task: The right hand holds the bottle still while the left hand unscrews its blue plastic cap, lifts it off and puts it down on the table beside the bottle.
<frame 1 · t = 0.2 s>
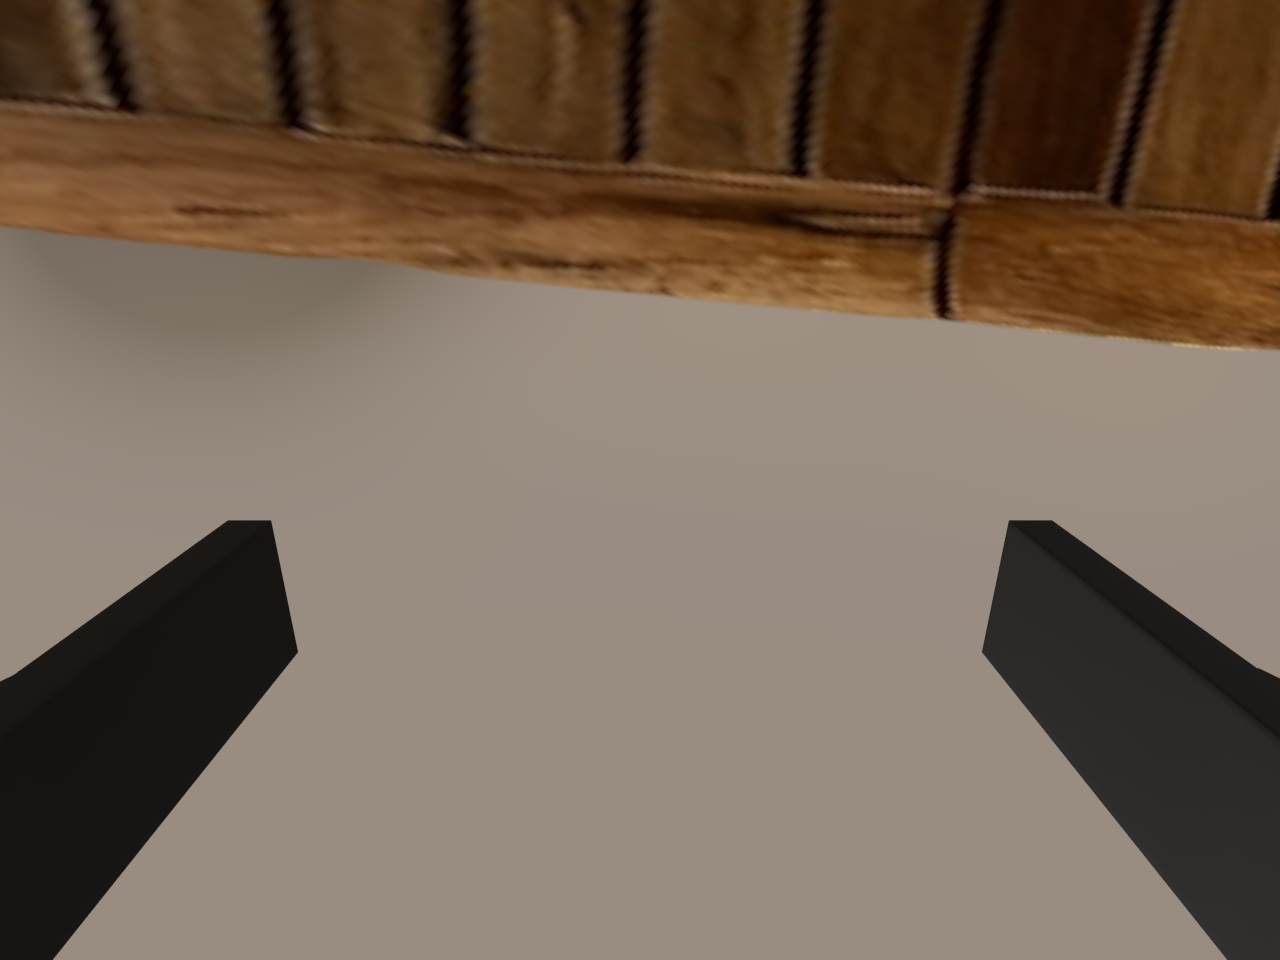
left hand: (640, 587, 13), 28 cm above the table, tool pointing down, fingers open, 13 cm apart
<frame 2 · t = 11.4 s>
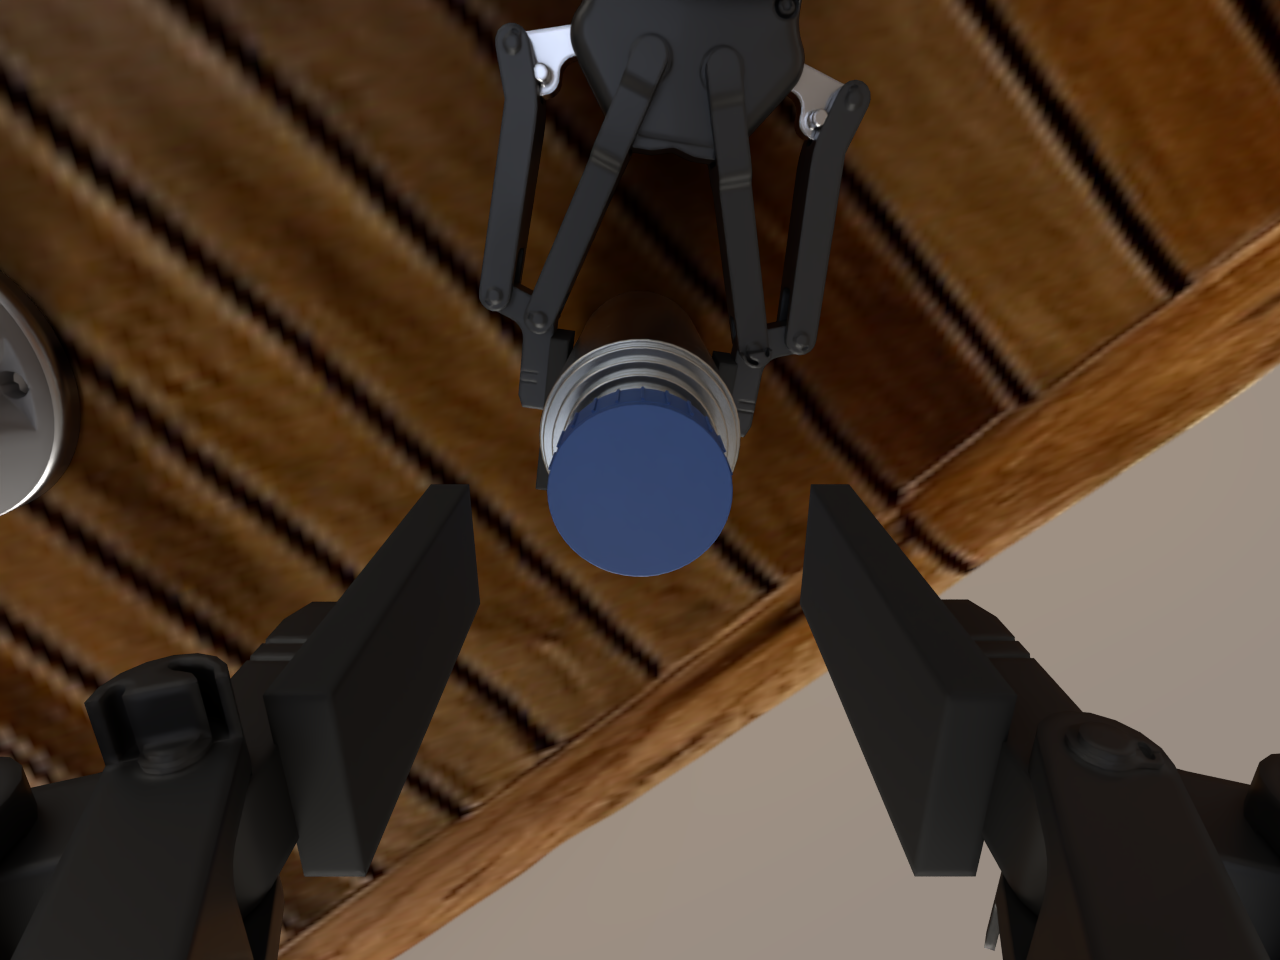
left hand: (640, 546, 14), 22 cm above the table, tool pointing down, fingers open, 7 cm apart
right hand: (624, 488, 31), fingers closed on bottle, 6 cm apart
cap: (640, 490, 17), point 19 cm above the table, screwed on, not yet turned
bottle: (640, 352, 35), on the table, touching right hand
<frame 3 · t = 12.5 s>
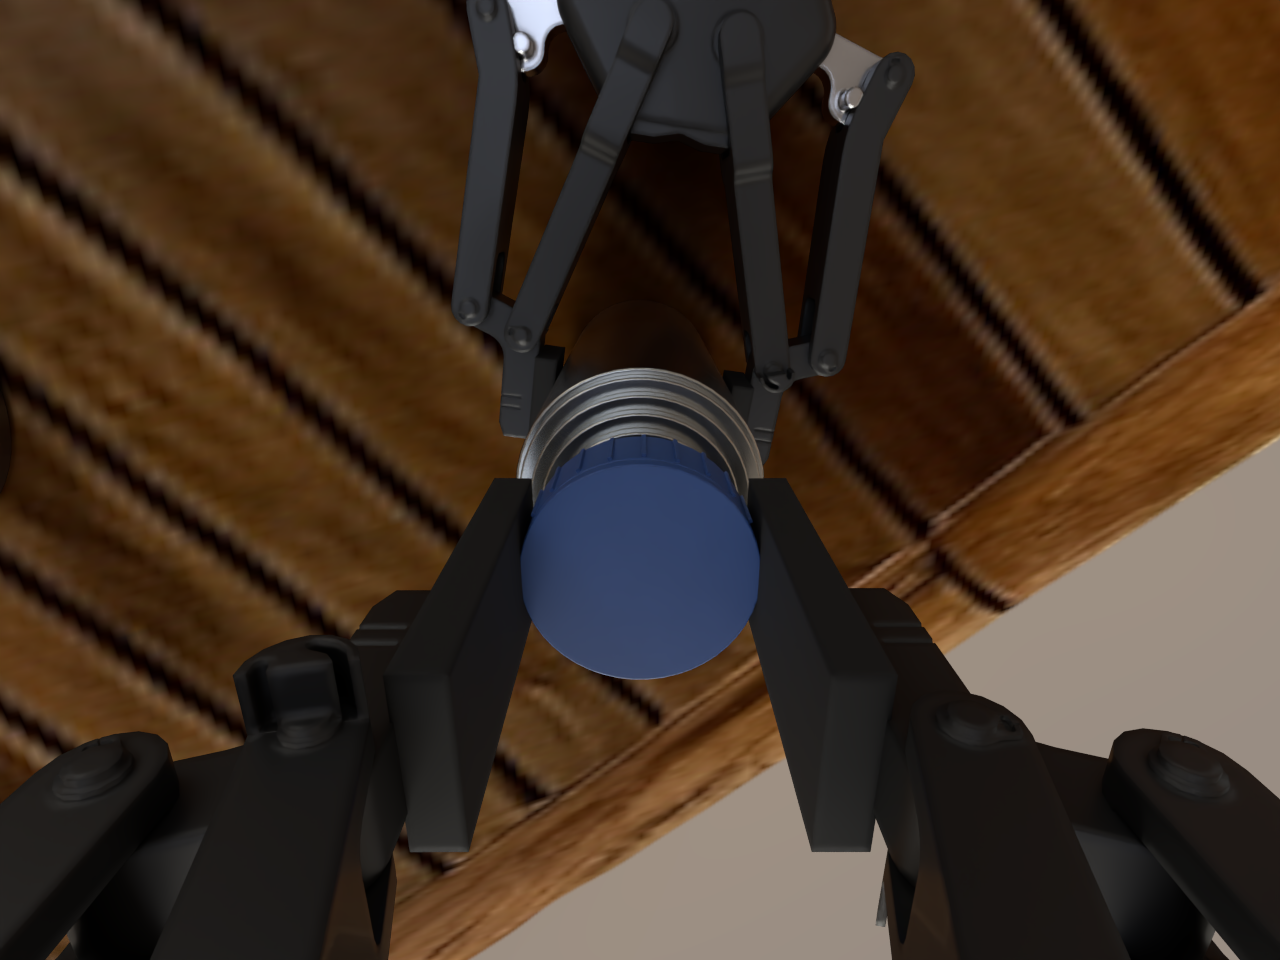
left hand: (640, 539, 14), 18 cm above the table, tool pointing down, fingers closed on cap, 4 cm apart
right hand: (621, 526, 27), fingers closed on bottle, 6 cm apart
cap: (640, 571, 13), point 19 cm above the table, screwed on, not yet turned, touching left hand
bottle: (639, 369, 31), on the table, touching right hand
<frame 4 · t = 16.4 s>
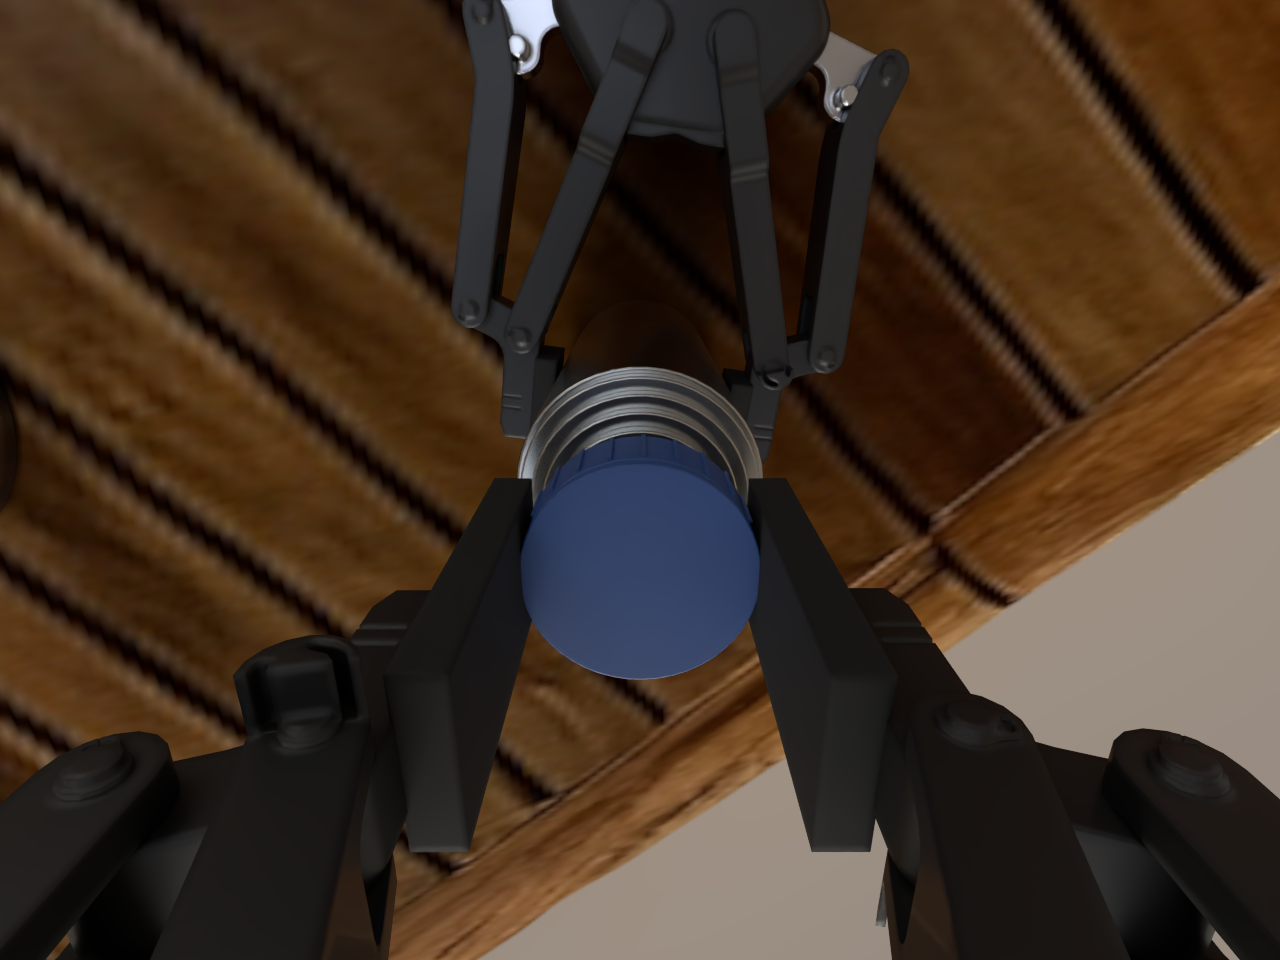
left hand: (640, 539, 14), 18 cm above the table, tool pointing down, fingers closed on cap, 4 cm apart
right hand: (623, 525, 27), fingers closed on bottle, 6 cm apart
cap: (640, 571, 13), point 19 cm above the table, turned 125° so far, risen 0.1 cm, still on its thread, touching left hand
bottle: (639, 368, 31), on the table, touching right hand
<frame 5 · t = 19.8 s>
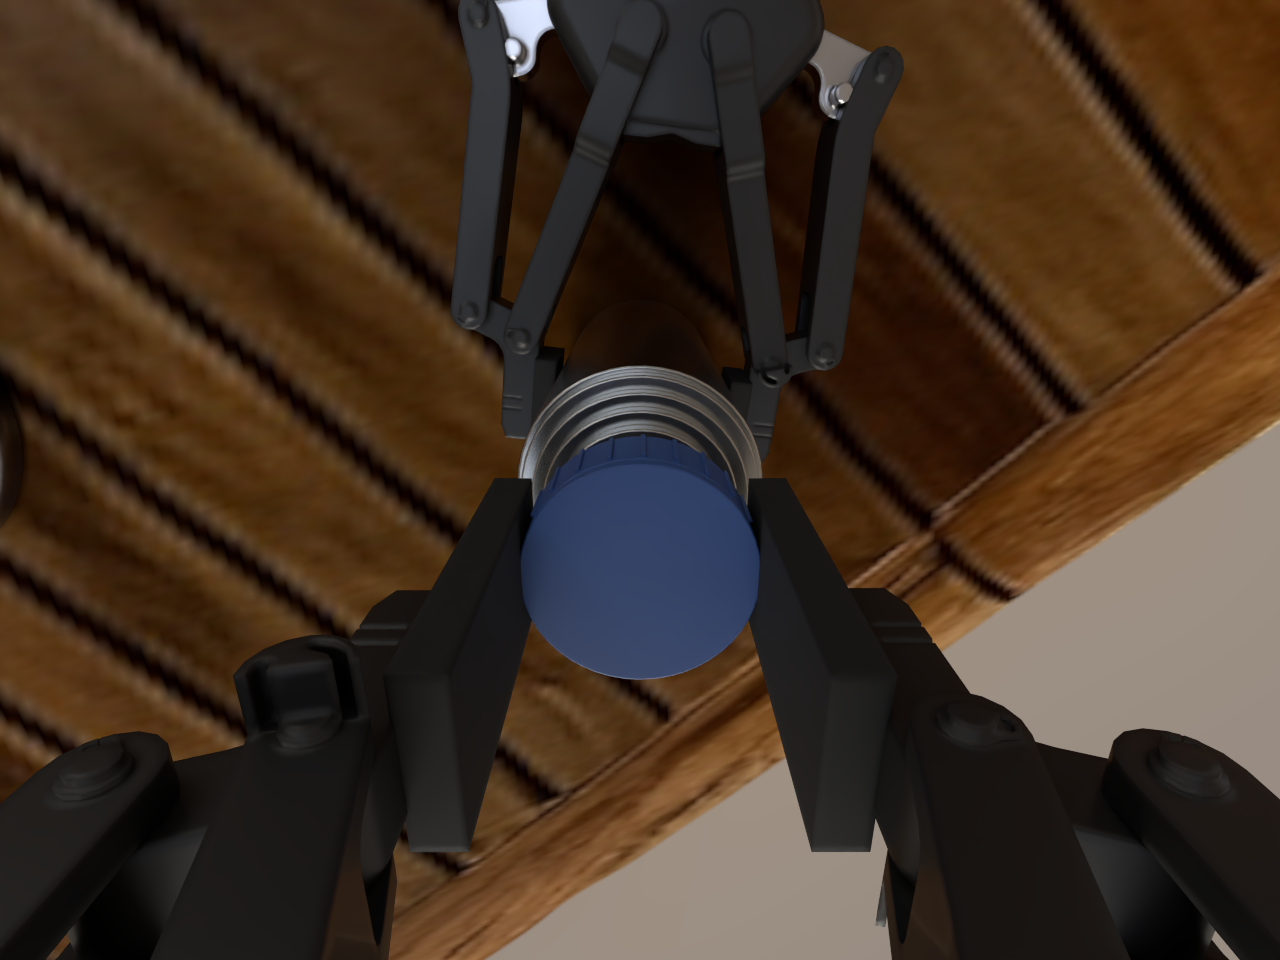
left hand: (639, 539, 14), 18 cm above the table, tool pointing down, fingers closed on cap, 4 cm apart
right hand: (625, 524, 27), fingers closed on bottle, 6 cm apart
cap: (640, 571, 13), point 20 cm above the table, turned 249° so far, risen 0.2 cm, still on its thread, touching left hand
bottle: (639, 368, 31), on the table, touching right hand
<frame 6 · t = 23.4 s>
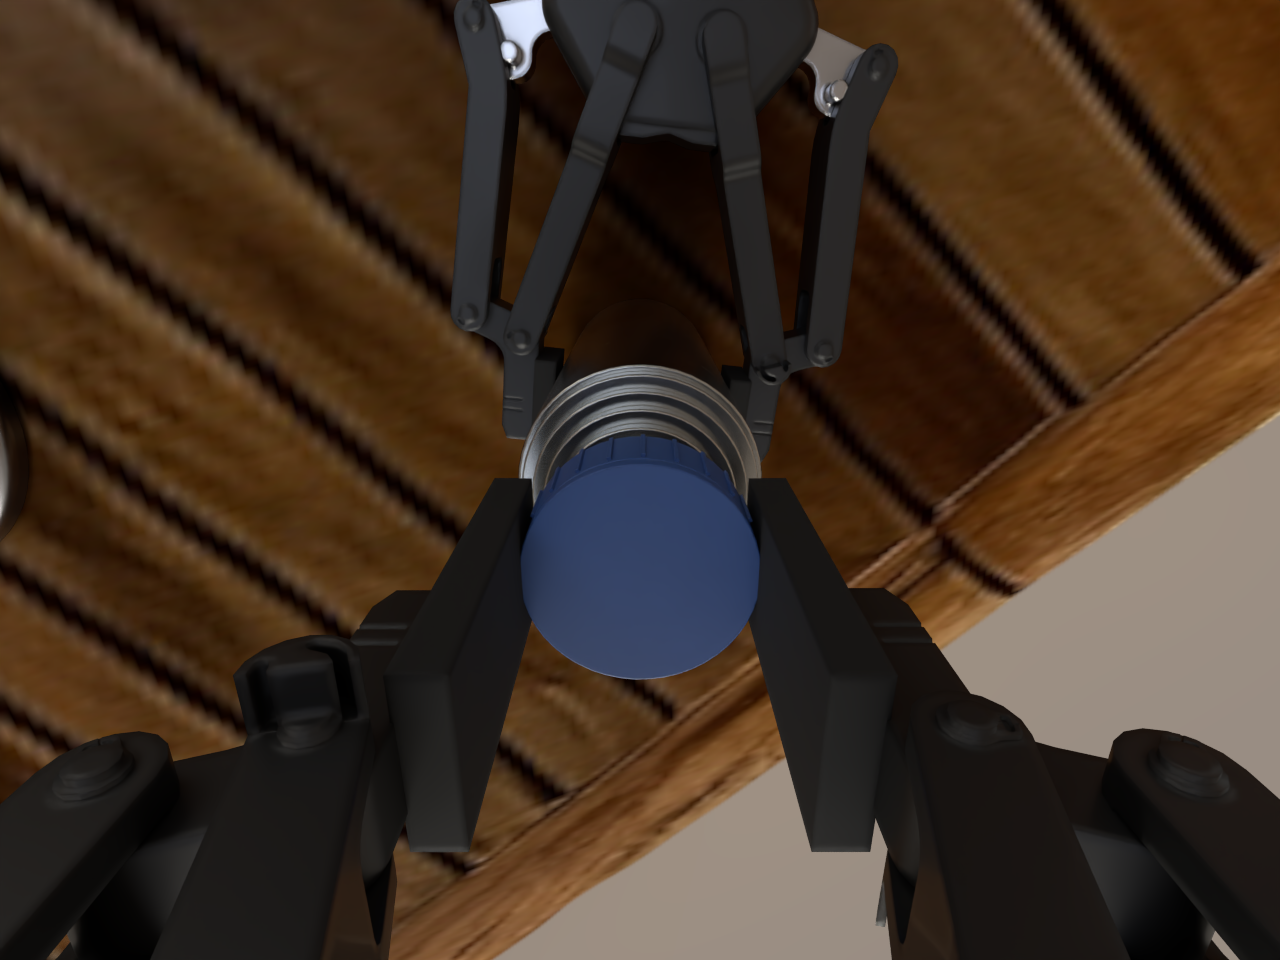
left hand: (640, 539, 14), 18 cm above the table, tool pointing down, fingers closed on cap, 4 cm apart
right hand: (627, 523, 28), fingers closed on bottle, 6 cm apart
cap: (640, 571, 13), point 20 cm above the table, turned 374° so far, risen 0.3 cm, still on its thread, touching left hand
bottle: (639, 367, 31), on the table, touching right hand
when the left hand's fingers open (1 cm above the table, at t = 29.8 s): cap drops 1 cm, point 1 cm above the table.
when the right hand's fingers open (6 cm above the table, at t = 30.9 s): bottle stays where it is, on the table.
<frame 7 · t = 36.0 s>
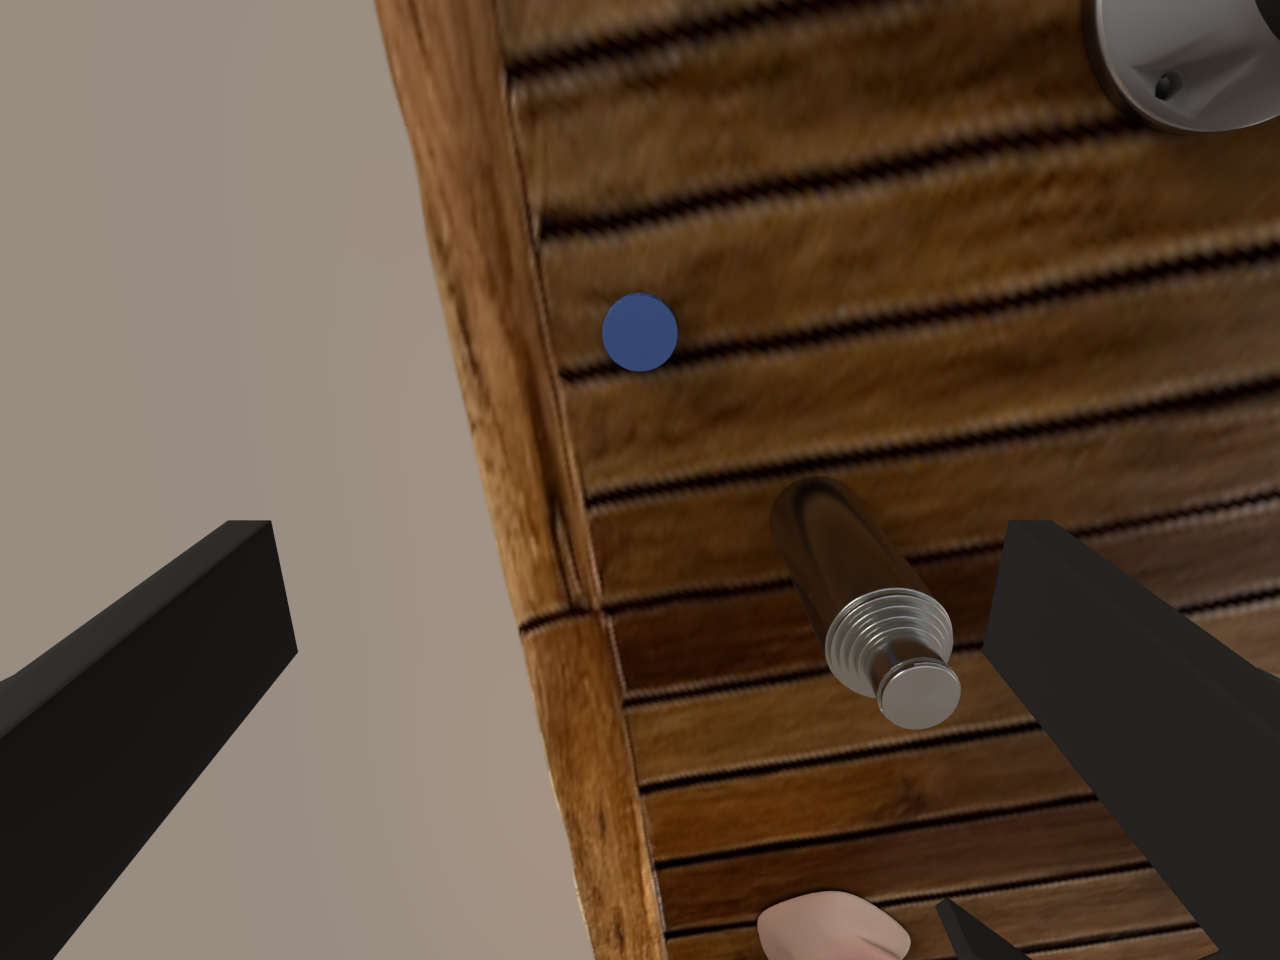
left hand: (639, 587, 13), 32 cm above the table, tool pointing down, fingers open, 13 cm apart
anatomical model: (829, 935, 62), on the table
cap: (640, 333, 42), point 1 cm above the table, off its thread
bottle: (814, 518, 47), on the table
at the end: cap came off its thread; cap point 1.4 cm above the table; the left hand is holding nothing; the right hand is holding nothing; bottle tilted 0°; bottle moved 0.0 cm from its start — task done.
